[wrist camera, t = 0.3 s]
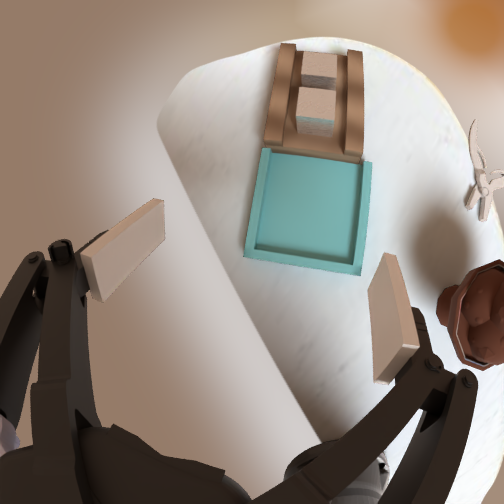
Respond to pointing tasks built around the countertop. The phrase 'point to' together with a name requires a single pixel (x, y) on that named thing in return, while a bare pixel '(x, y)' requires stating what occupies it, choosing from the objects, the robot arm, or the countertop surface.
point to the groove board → (346, 110)
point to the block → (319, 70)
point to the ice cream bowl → (476, 316)
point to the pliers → (481, 178)
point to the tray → (310, 212)
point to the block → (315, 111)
